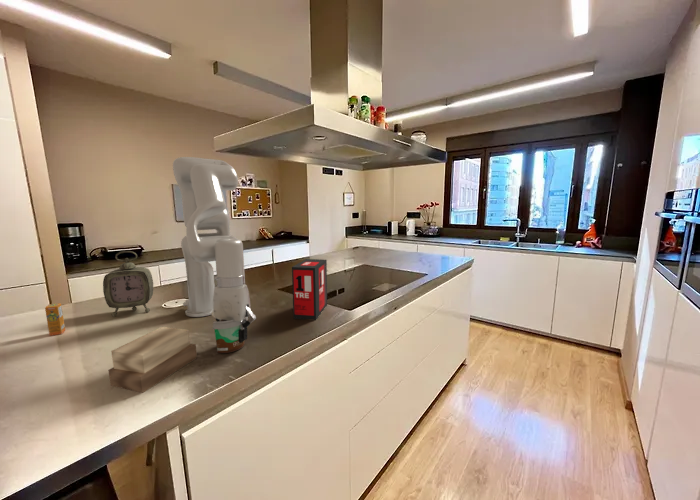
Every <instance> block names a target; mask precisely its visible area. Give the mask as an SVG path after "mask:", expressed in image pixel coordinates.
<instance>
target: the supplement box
mask: <svg viewBox="0 0 700 500" xmlns="http://www.w3.org/2000/svg"><path fill="white" fill-rule="evenodd" d="M44 309H45V315H46V317H45V318H46V322H47V328H48V329H47V330H48V335H49V337H51V336H59V335H62V334H64V333H65V331H66V325H65V320H64V314H63V309H62V303H61V302H60V303H51V304H48V305H46V306H45V307H44Z"/></svg>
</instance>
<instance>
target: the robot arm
mask: <svg viewBox="0 0 700 500" xmlns="http://www.w3.org/2000/svg"><path fill="white" fill-rule="evenodd" d="M172 171H173V176H174V180H175V182H176V184H177V186H178V189H179V190H180V193H181V201H182V203H181V204H182V213H183V214H182V215H183V223H184V226H185V229H186V230H185V233H186V234H185V235H184V236H183V237H182V239H181V241H180V247H181V250H182V254H183V258H184V263H185V271H186V280H187V281H186V282H187V291H188V293H187V294H188V299H185V300H184V302H183V303H182V306H185V307H187V309H186V310H185V311H184V312H185V315H186V317H191V318H202V317H207V316H212V317H213V318H214V319H215V321H216V322H219V321H221V320H227V321H229V320H233V319H234V321H236V322H241V325H239V327H240V330H238V331H239V342H240V343H242V342H243V341H244V340H245V341H246V340H247V339H248V327H249V326H250V325H251V324H252V323H253V322H254V321H256V320H257V317H256V314H254V312H253V311H252V308H251V307H252V306H251V298H250V292H249V288H248V285H247V284H246V279H245V278H246V276H245V259H244V257H245V256H244V244H243V242H242V239H239V238H237V236H235V235H231V227H230V225H231V224H230V223H231V222H230V216H229V212H228V209H227V202H226V199H225V195H224V192H223V191H235V190H236V189H238V185H239V178H238V174H237V171H236V169H235V168H234V167H233V166H232V165H231V164H229V163H228V162H227V161H225V160H222V159H213V158H202V157H193V156H182V157H177V158H175V159H174V160H173V163H172ZM206 230H207V231H209V230H211V231H212V230H213V231H214V230H215V231H216V232H203V233H201V232H200V233H199V231H206ZM210 262H215V270H216V271H214V267H213V265H212V264H211V263H210ZM214 272H216V275H215V274H214ZM215 281H216V285H215ZM247 317H248V320H247ZM244 319H245V321H246V322H245V323H244V324H243V322H242V321H243V320H244Z"/></svg>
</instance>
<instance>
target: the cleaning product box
mask: <svg viewBox="0 0 700 500" xmlns="http://www.w3.org/2000/svg"><path fill="white" fill-rule="evenodd" d="M327 261H328V260H327V259H319V258H318V259H314V258H312V259H311V258H305V259H303V260H302V261H300V262H298V263H297V264H295V265H293V266H292V267H291V276H292V277H291V281H292V282H291V283H292V284H291V285H292V313H293V314H292V315H293V317H292V318H293V320H294V319H295V320H306V319H314V320H313V321H317V320H318V319H319V317H320V316H321V314H322V313H323V312H322V311H324V310H325V309H326V308H325V307H327V306H328V276H327V275H328V269H327V267H328V266H327V265H328V264H327V263H328V262H327ZM324 308H325V309H324ZM321 312H322V313H321ZM319 315H320V316H319ZM318 316H319V317H318ZM316 319H317V320H316Z"/></svg>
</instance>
